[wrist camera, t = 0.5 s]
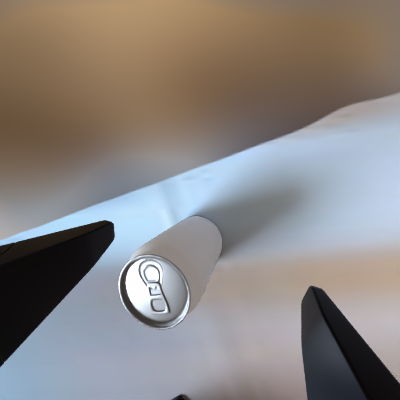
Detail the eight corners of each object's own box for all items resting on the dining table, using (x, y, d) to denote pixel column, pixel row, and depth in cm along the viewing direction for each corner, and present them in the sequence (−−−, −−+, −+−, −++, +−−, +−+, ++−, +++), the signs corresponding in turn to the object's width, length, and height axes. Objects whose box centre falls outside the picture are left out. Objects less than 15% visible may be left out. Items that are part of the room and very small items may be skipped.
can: (216, 210, 25) (183, 241, 13) (228, 261, 25) (206, 334, 14) (168, 220, 27) (103, 255, 15) (180, 267, 27) (126, 336, 16)
